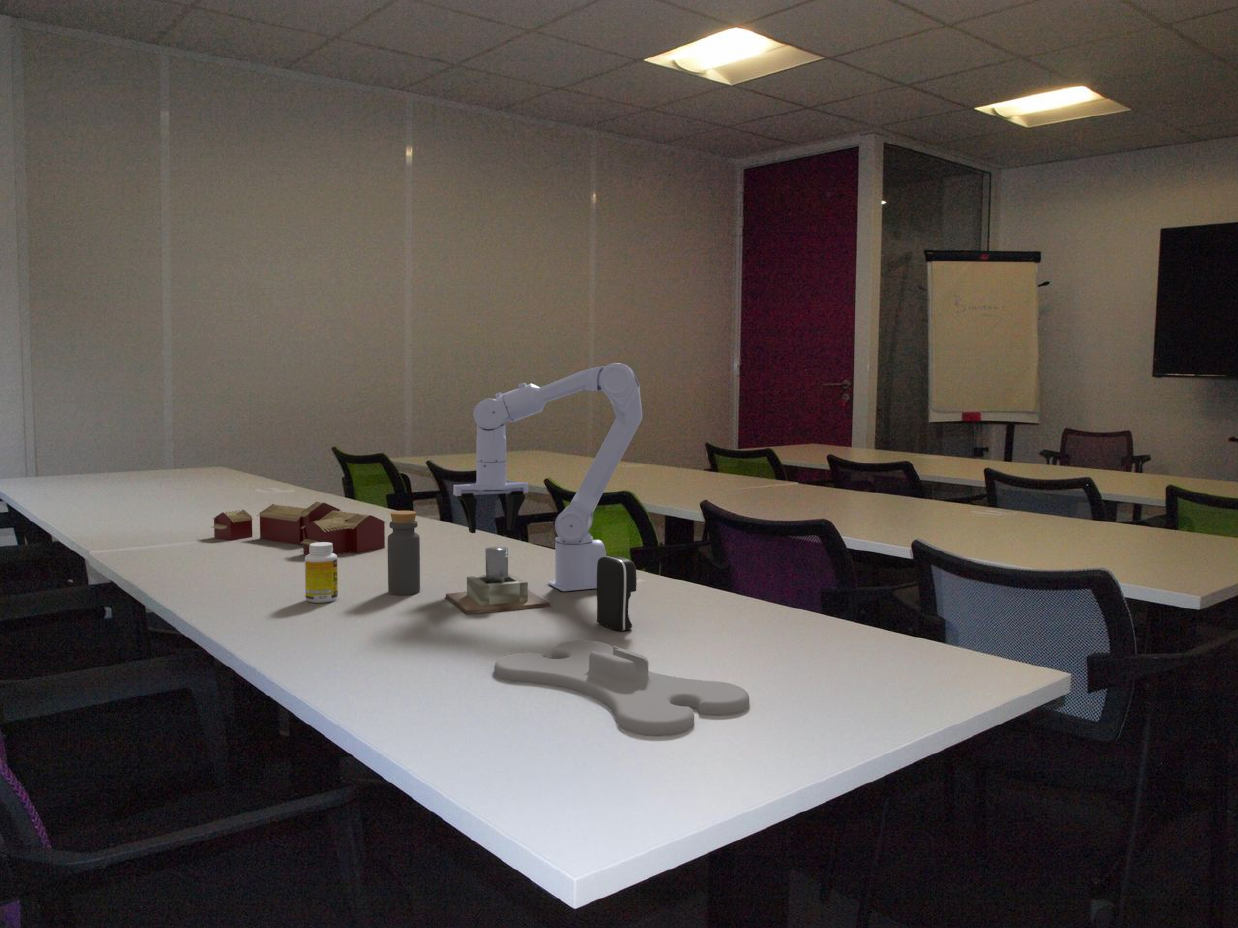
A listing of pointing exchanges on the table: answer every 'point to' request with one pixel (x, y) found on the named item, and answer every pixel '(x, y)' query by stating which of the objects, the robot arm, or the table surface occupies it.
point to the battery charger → (615, 591)
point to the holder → (625, 686)
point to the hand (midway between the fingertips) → (491, 531)
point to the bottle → (403, 554)
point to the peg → (496, 564)
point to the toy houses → (307, 527)
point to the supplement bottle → (321, 573)
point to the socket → (496, 596)
